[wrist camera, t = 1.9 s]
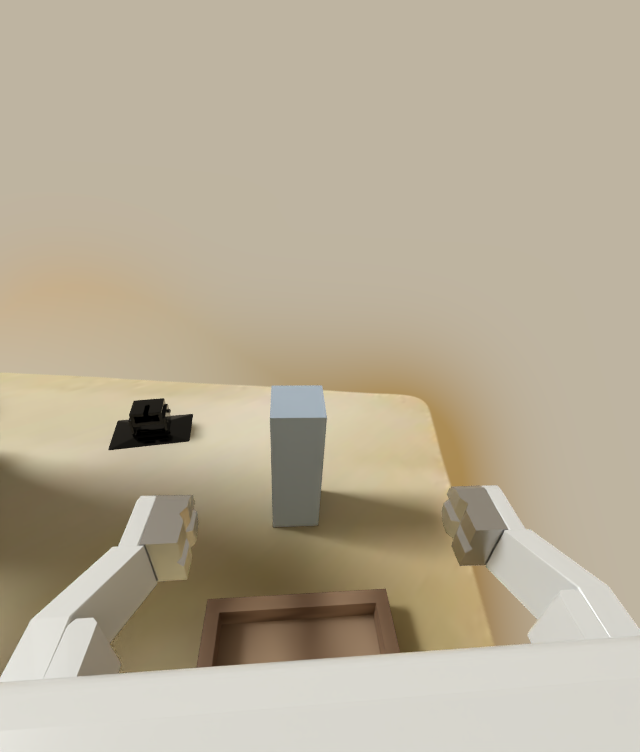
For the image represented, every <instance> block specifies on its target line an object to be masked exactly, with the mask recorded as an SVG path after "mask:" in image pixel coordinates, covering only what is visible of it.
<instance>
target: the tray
mask: <svg viewBox="0 0 640 752" xmlns="http://www.w3.org/2000/svg"><path fill="white" fill-rule="evenodd" d="M392 653H400V650H399V646H398V641H397V637H396V632H395V628H394V623H393V619H392V615H391V610H390V606H389V601H388V597H387V592H386V589H373V590H356V591H339V592H322V593H306V594H289V595H272V596H255V597H238V598H221V599H208V601H207V607H206V613H205V619H204V625H203V631H202V637H201V643H200V649H199V656H198V662H197V668H200V667H214V666H227V665H241V664H255V663H269V662H282V661H296V660H310V659H323V658H337V657H351V656H365V655H378V654H392Z"/></svg>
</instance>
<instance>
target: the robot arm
mask: <svg viewBox="0 0 640 752" xmlns="http://www.w3.org/2000/svg"><path fill="white" fill-rule="evenodd" d="M447 496H448V498H449V500H447V501H446V502H445V503H444V504H443V507H442V522H443V526H444V528H445V531H446V533H447V534H448V535H449V536H451V537H452V538H453V542H452V548H453V551H454V553H455V556H456V558H457V560H458V563H459V565H460V566H467V565H486V568H488V570H490V572H492V574H493V575H494V576H495V577H496V578H497V579H498V580H499V581H500V582H501V583H502V584H503V585H504V586H505V587H506V588H507V589H508V590H509V591H510V592H511V593H512V594H513V595H514V596H515V597H516V598H517V599H518V600H519V601H520V602H521V603H522V604H523V605H524V606H525V607H526V608H527V609H528V610H529V611H530V612H531V613H532V614H533V615H534V616H535V617H536V618H537V619H538V620H537V621H536V622H535V624H534V625H533V626H532V628H531V629H530V630H529V632H528V637H529V639H530V641H531V643H530V644H516V645H504V646H489V647H475V648H461V649H447V650H433V651H420V652H406V653H392V654H378V655H365V656H351V657H337V658H323V659H310V660H296V661H282V662H269V663H255V664H241V665H227V666H214V667H200V668H186V669H173V670H159V671H145V672H131V673H119V670H120V666H121V662H120V661H119V659H118V657H117V655H116V654H115V652H114V650H113V649H112V647H111V645H110V642H111V641H112V640H113V639H114V637H115V636H116V635H117V634H118V632H119V631H120V630H121V629H122V627H123V626H124V625H125V624H126V622H127V621H128V620H129V619H130V617H131V616H132V615H133V614H134V612H135V611H136V610H137V609H138V607H139V606H140V605H141V604H142V602H143V601H144V600H145V599H146V597H147V596H148V595H149V594H150V592H151V591H152V590H153V589H154V587H155V586H156V585H157V582H161V581H174V580H187V579H188V575H189V570H190V566H191V561H192V554H191V548H192V546H193V545H194V544H195V543H196V539H197V533H198V514H197V511H195V510H194V505H195V500H194V497H193V495H158V496H140V498H139V499H138V500H137V502H136V504H135V507H134V509H133V511H132V514H131V516H130V519H129V521H128V524H127V526H126V528H125V531H124V533H123V536H122V538H121V541H120V543H119V545H118V546H116V547H112V548H111V549H110V550H109V551H107V552H106V553H105V554H104V555H103V556H102V557H101V558H100V559H98V560H97V561H96V562H95V563H94V564H93V565H92V566H91V567H89V568H88V569H87V570H86V571H85V572H84V573H83V574H82V575H80V576H79V577H78V578H77V579H76V580H75V581H74V582H73V583H71V584H70V585H69V586H68V587H67V588H66V589H65V590H64V591H62V592H61V593H60V594H59V595H58V596H57V597H56V598H55V599H53V600H52V601H51V602H50V603H49V604H48V605H47V606H46V607H44V608H43V609H42V610H41V611H40V612H39V613H38V614H37V615H35V616H34V617H33V618H32V619H31V621H30V622H29V624H28V626H27V628H26V630H25V632H24V634H23V636H22V637H21V639H20V641H19V643H18V645H17V647H16V649H15V651H14V653H13V654H12V656H11V658H10V660H9V662H8V664H7V666H6V668H5V669H4V671H3V673H2V675H1V677H0V752H640V629H639V628H638V626H637V625H636V624H635V622H634V621H633V619H632V618H631V616H630V615H629V614H628V612H627V611H626V610H625V608H624V607H623V605H622V604H621V603H620V601H619V600H618V599H617V597H616V596H615V594H614V593H613V592H612V590H611V589H610V587H609V586H608V585H606V584H605V583H604V582H602V581H601V580H599V579H598V578H597V577H595V576H594V575H592V574H591V573H590V572H588V571H587V570H586V569H584V568H583V567H581V566H580V565H578V564H577V563H576V562H575V561H573V560H572V559H570V558H569V557H567V556H566V555H565V554H564V553H562V552H561V551H559V550H558V549H557V548H555V547H554V546H553V545H551V544H550V543H548V542H547V541H546V540H544V539H543V538H541V537H540V536H539V535H537V534H536V533H534V532H533V531H532V530H530V529H525V527H524V526H523V524H522V523H521V521H520V520H519V518H518V516H517V515H516V513H515V511H514V510H513V508H512V506H511V505H510V503H509V502H508V500H507V498H506V497H505V495H504V494H503V492H502V491H501V489H500V488H499V487H498V486H497V485H496V486H494V485H493V486H460V487H451V488H450V489H449V490H448V493H447Z"/></svg>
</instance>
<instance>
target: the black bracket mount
mask: <svg viewBox="0 0 640 752" xmlns="http://www.w3.org/2000/svg"><path fill="white" fill-rule="evenodd" d="M170 412H171V410H170V409H169V407H168V404H165V400H164V398H162V399H150V400H138V401H134V402H133V405H132V408H131V411H130V414H129V416H130V418H129V420H121V421H118V422H117V425H116V428H115V431H114V434H113V437H112V440H111V443H110V446H109V450H115V449H124V448H133V447H142V446H151V445H160V444H169V443H178V442H187V441H189V440H190V433H191V426H192V418H193V414H188V415H177V416H170Z"/></svg>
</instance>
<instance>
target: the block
mask: <svg viewBox="0 0 640 752" xmlns="http://www.w3.org/2000/svg"><path fill="white" fill-rule="evenodd" d="M326 422H327V415H326V409H325V402H324V396H323V389H322V386H272V390H271V410H270V432H271V470H272V507H273V527H291V526H315V525H318V520H319V508H320V495H321V483H322V471H323V458H324V446H325V434H326Z"/></svg>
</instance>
